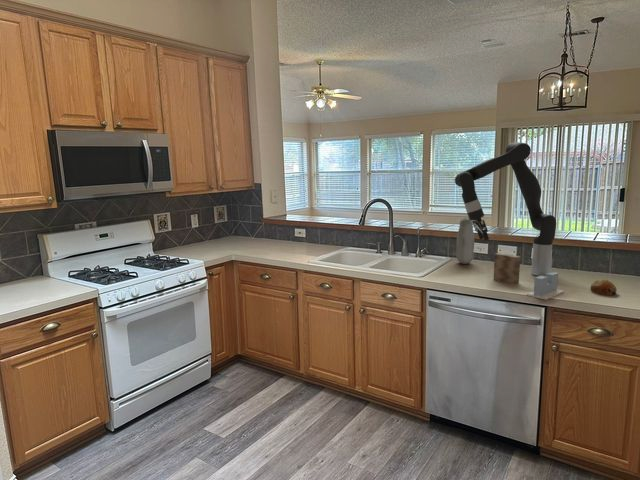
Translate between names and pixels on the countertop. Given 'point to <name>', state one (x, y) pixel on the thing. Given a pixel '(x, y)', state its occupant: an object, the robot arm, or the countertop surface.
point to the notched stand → (546, 286)
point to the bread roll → (603, 287)
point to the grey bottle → (465, 241)
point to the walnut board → (506, 268)
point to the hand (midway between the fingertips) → (484, 239)
